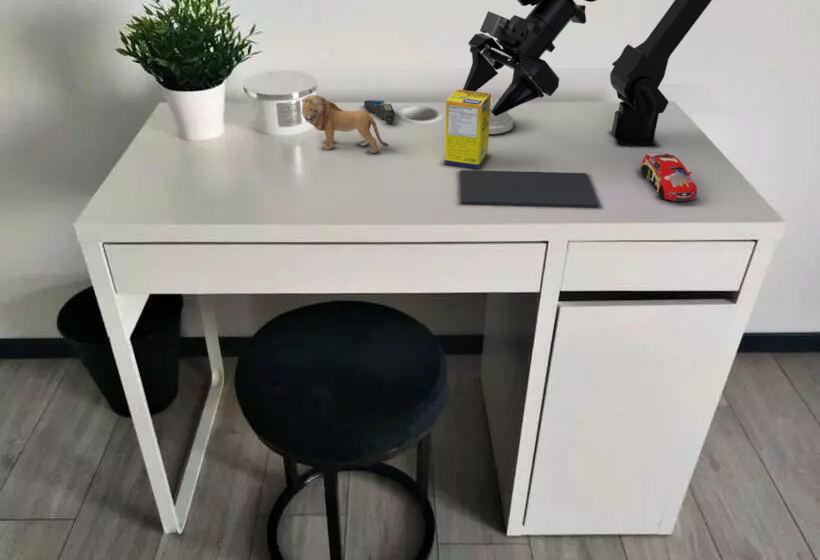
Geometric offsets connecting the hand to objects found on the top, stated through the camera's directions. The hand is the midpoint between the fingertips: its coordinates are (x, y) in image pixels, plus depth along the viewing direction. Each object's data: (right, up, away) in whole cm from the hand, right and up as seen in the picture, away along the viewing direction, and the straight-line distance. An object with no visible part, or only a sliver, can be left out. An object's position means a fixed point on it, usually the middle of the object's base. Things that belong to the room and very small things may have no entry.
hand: (477, 105), depth 114 cm
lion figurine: (-22, -5, +8) cm, 25 cm away
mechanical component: (+3, 0, +18) cm, 18 cm away
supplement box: (-2, -8, +4) cm, 9 cm away
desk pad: (+7, -14, -5) cm, 17 cm away
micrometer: (-17, +3, +22) cm, 27 cm away
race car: (+29, -14, -3) cm, 32 cm away
